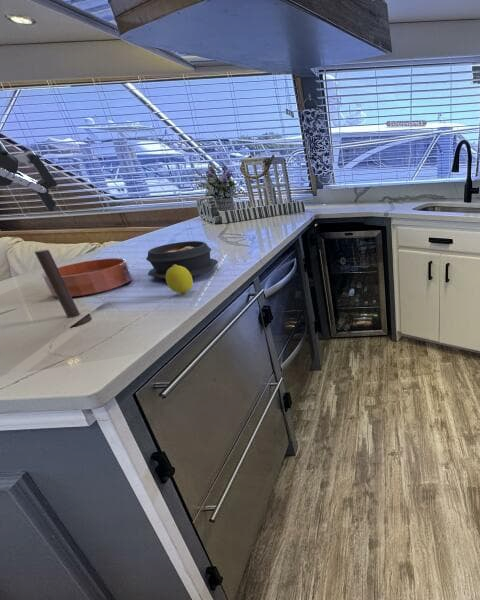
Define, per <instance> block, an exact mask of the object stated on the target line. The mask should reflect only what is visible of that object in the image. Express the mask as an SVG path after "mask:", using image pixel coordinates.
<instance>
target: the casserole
mask: <svg viewBox="0 0 480 600" xmlns="http://www.w3.org/2000/svg"><path fill="white" fill-rule="evenodd" d="M211 251H212V247H209V245H208V244H207V242H205V241H197V240H191V241H181V242H179V241H178V242H172V243H168V244H163V245H159V246H156V247H153V248H150V249H149V250H148V251H147V256H146V258H145V260H146V261H147V262H149V263H150V265H151V266H152V268H151V269H150V270H149V271H148V273H147V276H150V277H152V278H161V279H164V280H166V272H167V270H168V269H169V268H171V267H172V266H173V265H177V266H182V267H184V268H186V269H187V270H188V271H189V272H190V274H191V276H192V278H193V277H197V276H201V275H203V274H207V273H209V272H211V271H213V269H214V267H215V266H217V265H218V263H219V261H218V260H217V259H215V258H211Z"/></svg>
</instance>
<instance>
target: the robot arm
mask: <svg viewBox="0 0 480 600" xmlns="http://www.w3.org/2000/svg"><path fill="white" fill-rule="evenodd" d="M20 163H23V164H25V165H26V166H28V168H29V167H30V168H34V169H35V170H36V172H37V173H38V175H39V176H40V177H41V179H39V180H35V179H34V178H32V177H30V176H28V175H26V174H25V173H22V172H20V171H19V167H20ZM13 183H16V184H19V185H21V186H23V187H25V188H29V189H32V190H34V192H35V193H36V195H37V196H38V198H39V200H40V201H41V203H42V204H43V205H44V207H45V208H46V210H47V211H48V212H54V211H55V209H54V208H56V205H57V204H56V202H55V201H54V199H53V198H52V196H51V195H50V193H49V189H51V188H55V187H57V186H58V183H57V181H56V179H55V178H54V177H53V176H52V174H51V173H50V172H49V170H48V168H47V167H46V166H45V164H44V163H43V161H42V160H41V159H40V157H39V156H38V154H36V153H35V152H34V151H33V150H31V149H25V150H24V151H23V153H22V152H21V153H17V154H12V153H10V152H9V151H8V150H7V148H6V147H5V145H4V144H3V142H2V141H1V140H0V187H7V186H11V185H12V184H13Z"/></svg>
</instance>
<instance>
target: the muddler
mask: <svg viewBox="0 0 480 600" xmlns="http://www.w3.org/2000/svg"><path fill="white" fill-rule="evenodd" d="M34 254H35V256H36V258H37V259H38V263H39V264H40V266H41V268H42V270H43V273H45V274H46V276H47V278H48V280H49V282H50V284H51V286H52V288H53V290H54V292H55V294H56V296H57V300H58V302H59V304H60V305H61V308H62V310H63V311H64V313H65V316H66V317H67V318H68V319H69V318H76V317H78V316H80V315H81V312H80V311H79V309H78V307H77V305H76V303H75V301H74V299H73V297H71V294H70V292H69V290H68V288H67V286H66V284H65V282H64V280H63V278H62V276H61V274H60V272H59V270H58V266H57V263H56V262H55V260H54V257H53V256H52V253H51V251H50V250H49V249H40V250H36V251H34ZM56 296H55V297H56ZM92 319H93V317H92V316H91V314H90V313H88V314H86V315H85V316H83V317H82V318H81V319H79V320H78V321H76V322H75V323H73V324H71V326H70V327H69V329H70V328H75V327H79V326H83V325H85V324H88V323H89V322H91V321H92Z"/></svg>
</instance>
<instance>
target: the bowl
mask: <svg viewBox="0 0 480 600" xmlns="http://www.w3.org/2000/svg"><path fill="white" fill-rule="evenodd" d="M57 268H58V270H59V272H60V274H61V276H62V278H63V280H64V282H65V284H66V286H67V288H68V290H69V292H70V294H71V297H72V298H73V297H74V298H75V297H83V296H84V297H85V296H89V295H95V294H100V293H103V292H107V291H110V290H113V289H116V288H118V287H121V286H123V285H125V284H128V283H130V282H131V281H132V280H133V275H132V273H131V270H130V267H129V265H128V262H127V260H126V259H124V258H119V257H118V258H117V257H114V258H113V257H111V258H110V257H109V258H100V259H92V260H86V261H80V262H75V263H70V264H66V265H62V266H57ZM41 277H42V279H43V281H44V283H45V285H46V287H47V288H48V290H49V293H50V294H51V295H52V297H57V296H56V294H55V292H54V290H53V288H52V286H51V284H50V282H49V280H48V278H47V276H46V274H45V272H43V273H42V274H41Z"/></svg>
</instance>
